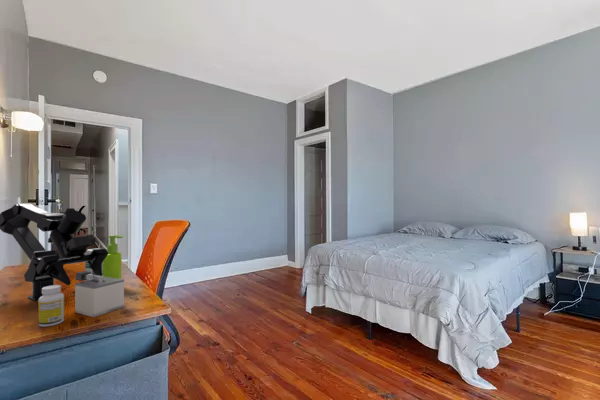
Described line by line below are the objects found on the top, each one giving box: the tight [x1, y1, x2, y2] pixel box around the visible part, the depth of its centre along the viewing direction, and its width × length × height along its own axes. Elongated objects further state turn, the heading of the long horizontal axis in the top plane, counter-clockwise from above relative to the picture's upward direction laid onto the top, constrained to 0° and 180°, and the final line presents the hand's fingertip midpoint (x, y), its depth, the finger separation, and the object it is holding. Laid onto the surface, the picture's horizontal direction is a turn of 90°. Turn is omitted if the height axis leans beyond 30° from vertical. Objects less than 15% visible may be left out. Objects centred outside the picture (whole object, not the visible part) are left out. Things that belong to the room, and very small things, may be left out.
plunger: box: [75, 270, 103, 283], centre depth 94 cm, size 11×3×8 cm, turn 65°
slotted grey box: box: [74, 277, 125, 318], centre depth 92 cm, size 9×9×9 cm
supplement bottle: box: [37, 284, 65, 328], centre depth 82 cm, size 5×5×10 cm
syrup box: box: [84, 248, 107, 281], centre depth 117 cm, size 6×6×14 cm
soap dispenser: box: [103, 234, 124, 279], centre depth 115 cm, size 6×7×20 cm
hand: (86, 280), depth 95 cm, fingers open, 9 cm apart
